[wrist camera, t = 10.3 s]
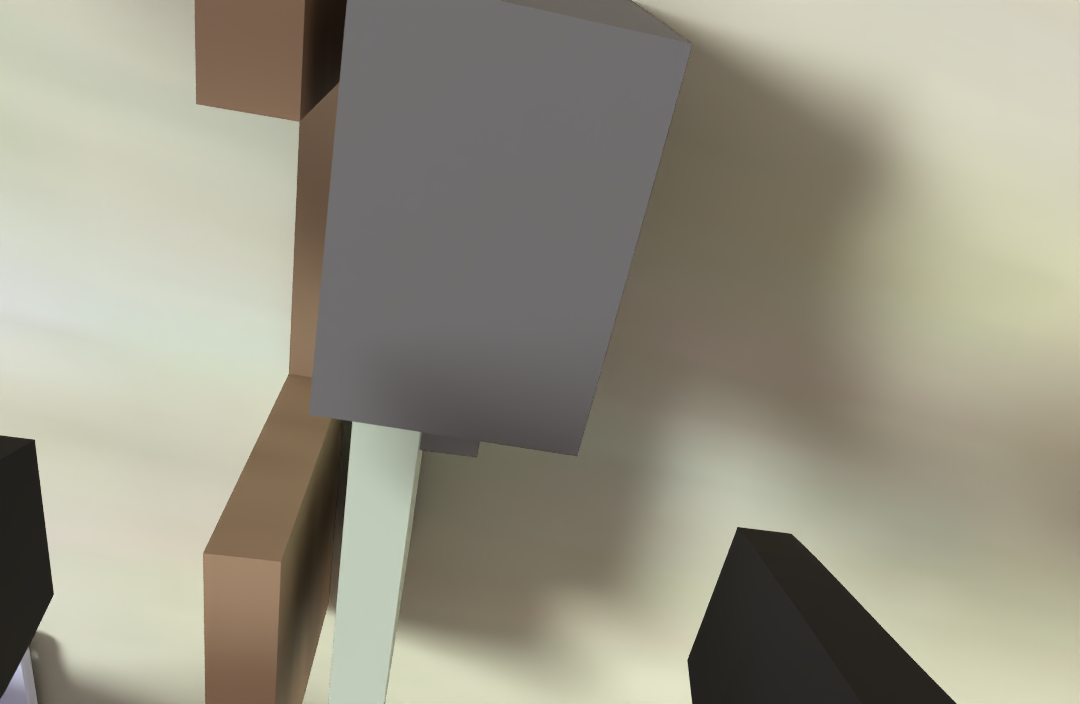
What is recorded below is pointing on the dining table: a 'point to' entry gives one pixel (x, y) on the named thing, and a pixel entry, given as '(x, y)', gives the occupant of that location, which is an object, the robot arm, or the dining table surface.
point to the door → (377, 554)
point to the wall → (290, 432)
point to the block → (486, 210)
